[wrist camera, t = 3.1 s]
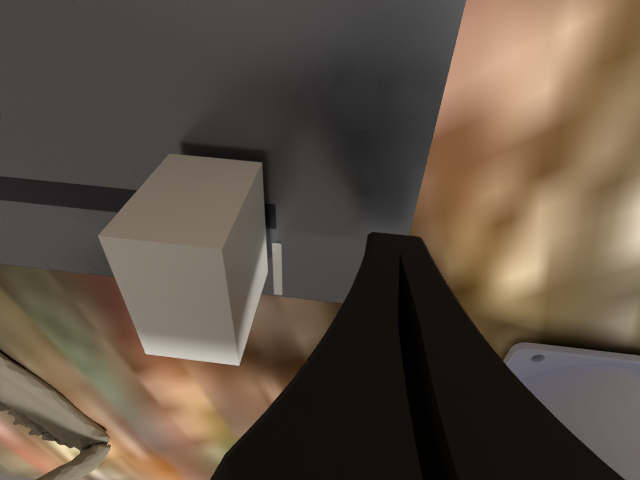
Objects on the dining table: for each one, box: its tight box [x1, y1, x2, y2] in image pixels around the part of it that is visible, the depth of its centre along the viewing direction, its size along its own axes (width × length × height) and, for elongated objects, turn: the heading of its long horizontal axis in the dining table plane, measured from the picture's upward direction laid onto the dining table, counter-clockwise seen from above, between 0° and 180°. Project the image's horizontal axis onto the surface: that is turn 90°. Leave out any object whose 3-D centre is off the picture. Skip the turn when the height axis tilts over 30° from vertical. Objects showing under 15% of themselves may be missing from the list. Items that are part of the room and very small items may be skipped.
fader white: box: [98, 154, 268, 366], centre depth 10 cm, size 2×4×4 cm, turn 177°
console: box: [0, 0, 466, 303], centre depth 10 cm, size 17×15×2 cm
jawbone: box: [0, 353, 111, 480], centre depth 21 cm, size 14×8×15 cm
